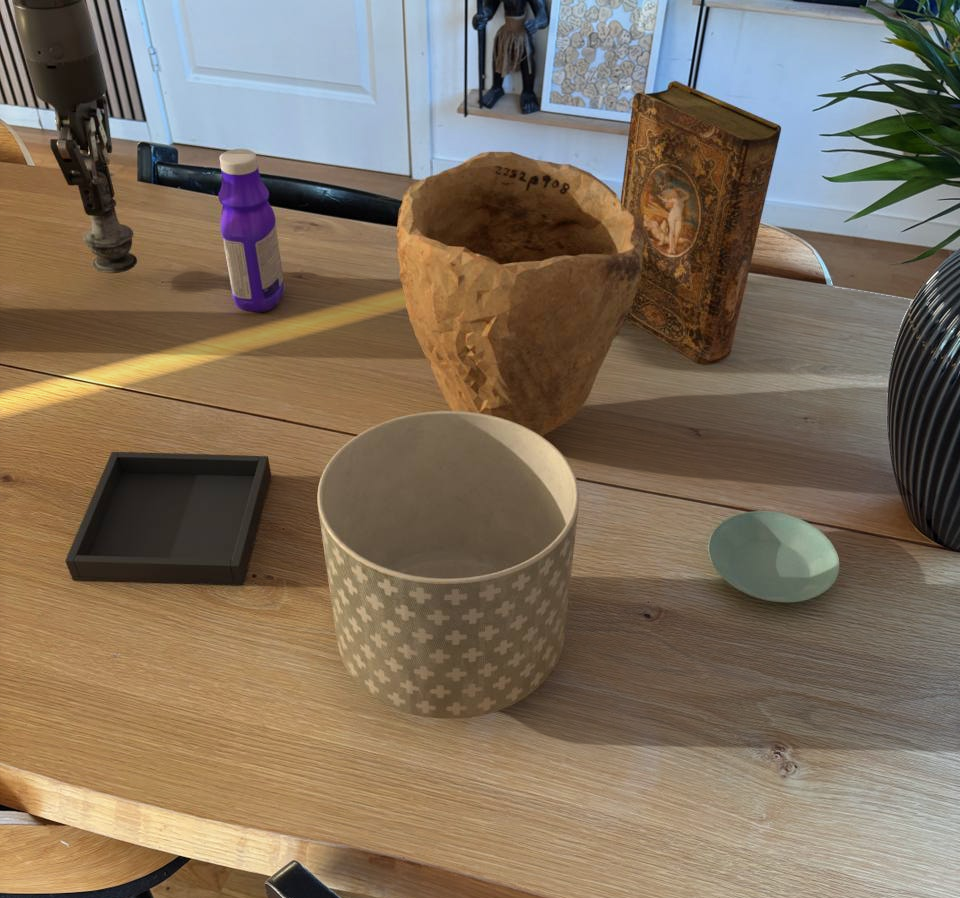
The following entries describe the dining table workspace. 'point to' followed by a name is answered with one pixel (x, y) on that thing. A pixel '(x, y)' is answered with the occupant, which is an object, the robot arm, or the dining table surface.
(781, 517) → the saucer
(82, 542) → the tray
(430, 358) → the tan textured vessel
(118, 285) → the dining table surface
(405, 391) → the dining table surface
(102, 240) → the chess piece
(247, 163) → the bottle
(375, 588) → the planter
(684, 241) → the book
